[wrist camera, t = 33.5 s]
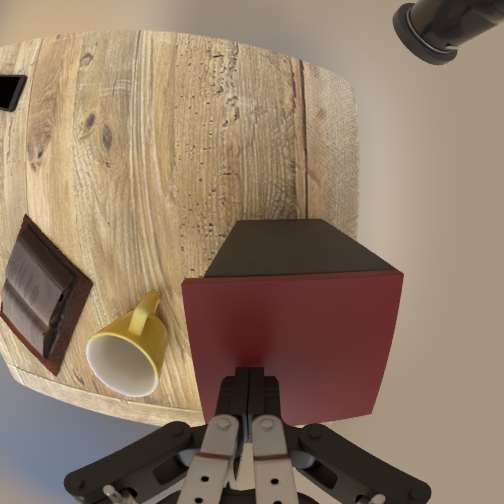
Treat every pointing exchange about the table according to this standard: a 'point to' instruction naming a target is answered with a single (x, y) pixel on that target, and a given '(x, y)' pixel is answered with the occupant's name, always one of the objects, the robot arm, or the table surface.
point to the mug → (131, 350)
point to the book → (42, 296)
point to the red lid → (296, 338)
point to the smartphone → (10, 90)
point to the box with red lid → (290, 250)
